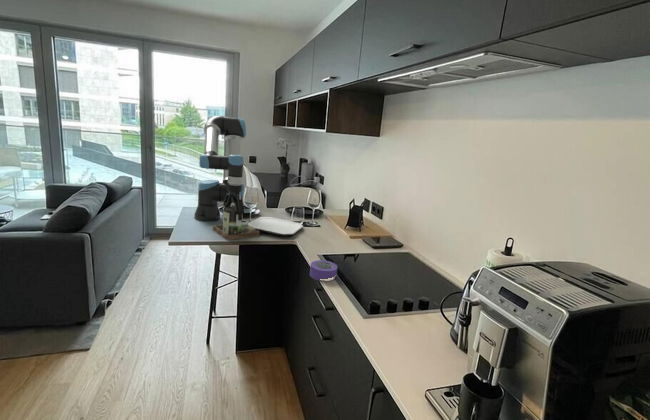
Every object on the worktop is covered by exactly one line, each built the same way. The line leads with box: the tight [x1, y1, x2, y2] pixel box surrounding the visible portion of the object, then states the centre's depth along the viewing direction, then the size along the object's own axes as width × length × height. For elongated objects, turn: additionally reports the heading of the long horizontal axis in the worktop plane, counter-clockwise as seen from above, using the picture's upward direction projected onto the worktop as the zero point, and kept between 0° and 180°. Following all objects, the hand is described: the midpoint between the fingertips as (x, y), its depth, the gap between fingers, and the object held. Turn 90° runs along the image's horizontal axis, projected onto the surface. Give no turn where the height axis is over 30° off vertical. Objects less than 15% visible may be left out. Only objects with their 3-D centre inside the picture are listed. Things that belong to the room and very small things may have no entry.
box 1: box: [241, 221, 248, 232], centre depth 194 cm, size 4×4×4 cm
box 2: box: [244, 226, 255, 233], centre depth 189 cm, size 4×4×4 cm
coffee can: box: [222, 206, 244, 235], centre depth 185 cm, size 10×10×14 cm
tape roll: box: [309, 259, 338, 282], centre depth 147 cm, size 12×12×5 cm
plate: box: [246, 216, 304, 236], centre depth 203 cm, size 29×29×2 cm
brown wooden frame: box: [212, 224, 261, 241], centre depth 188 cm, size 18×19×2 cm
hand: (232, 222), depth 185 cm, fingers open, 13 cm apart
